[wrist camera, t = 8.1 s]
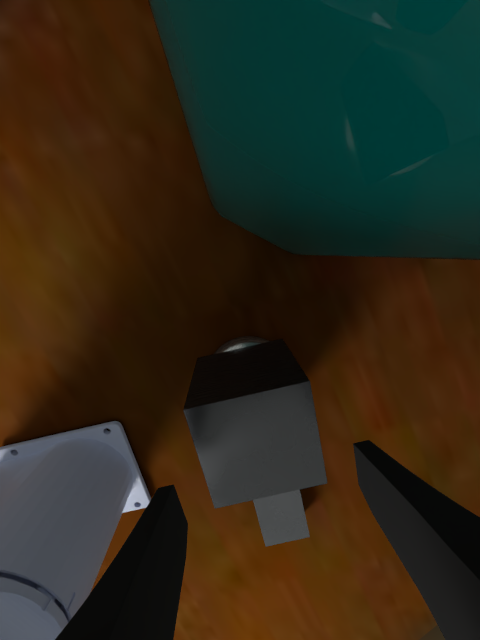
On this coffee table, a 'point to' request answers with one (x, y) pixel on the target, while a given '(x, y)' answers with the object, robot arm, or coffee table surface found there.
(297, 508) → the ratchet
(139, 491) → the robot arm
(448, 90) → the teal green bottle
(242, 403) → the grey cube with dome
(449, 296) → the coffee table surface
